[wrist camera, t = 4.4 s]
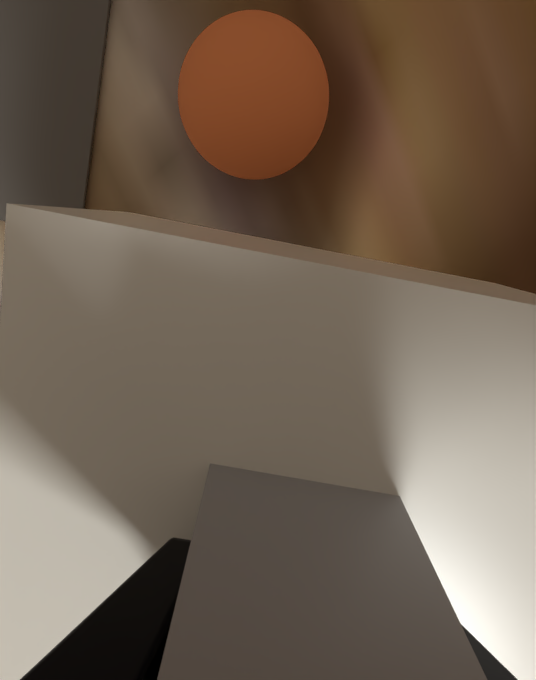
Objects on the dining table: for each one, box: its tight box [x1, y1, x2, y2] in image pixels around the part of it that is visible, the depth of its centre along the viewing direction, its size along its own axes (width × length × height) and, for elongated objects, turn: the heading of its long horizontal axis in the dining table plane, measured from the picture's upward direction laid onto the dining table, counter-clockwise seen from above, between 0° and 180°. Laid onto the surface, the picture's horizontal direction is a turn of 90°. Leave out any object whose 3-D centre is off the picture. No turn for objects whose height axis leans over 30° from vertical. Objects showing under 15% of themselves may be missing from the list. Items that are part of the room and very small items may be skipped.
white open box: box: [0, 203, 536, 680], centre depth 9 cm, size 10×10×10 cm
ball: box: [178, 10, 329, 180], centre depth 16 cm, size 5×5×5 cm
